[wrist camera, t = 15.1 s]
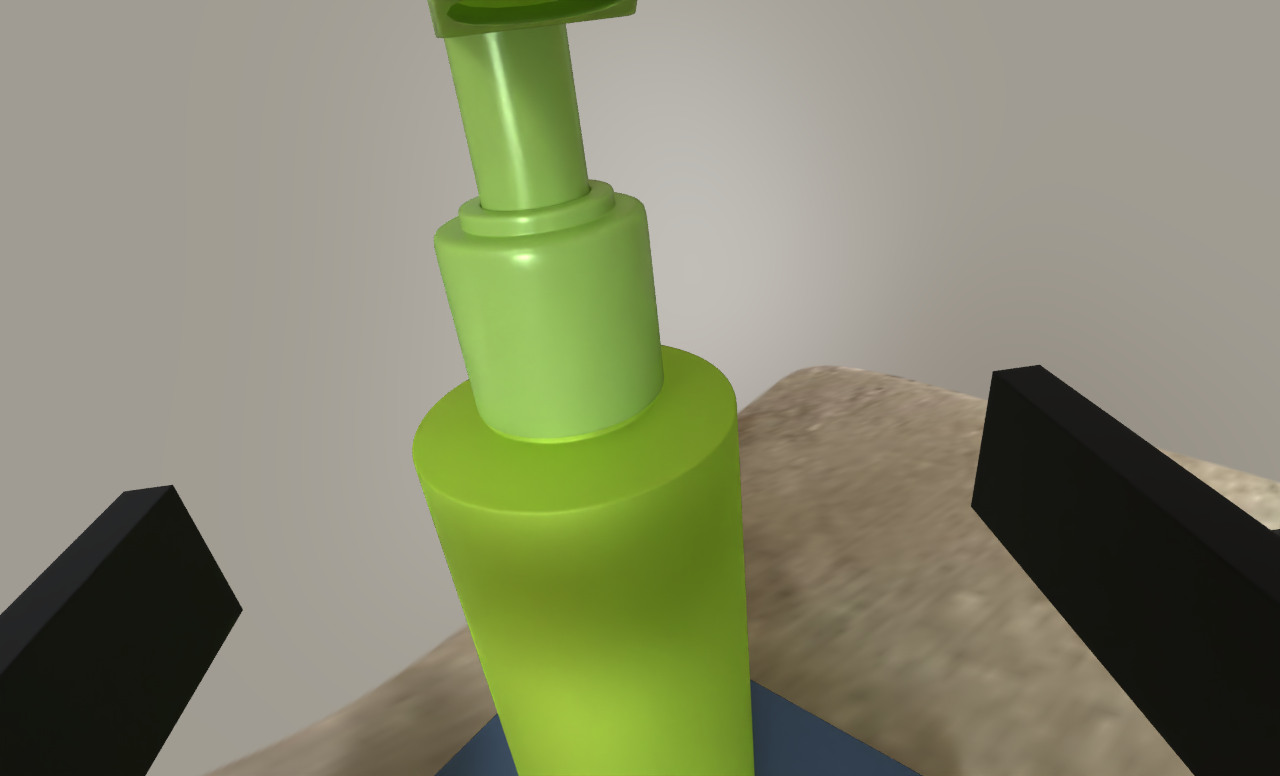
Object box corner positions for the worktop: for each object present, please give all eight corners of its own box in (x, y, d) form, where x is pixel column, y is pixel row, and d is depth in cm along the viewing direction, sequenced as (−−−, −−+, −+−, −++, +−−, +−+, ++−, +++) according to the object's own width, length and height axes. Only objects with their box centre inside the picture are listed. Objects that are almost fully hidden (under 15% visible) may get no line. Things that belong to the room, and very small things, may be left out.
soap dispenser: (571, 1038, 14) (131, -62, 5) (531, 749, 20) (300, 2, 11) (816, 936, 15) (852, -127, 6) (710, 691, 21) (643, -35, 12)
